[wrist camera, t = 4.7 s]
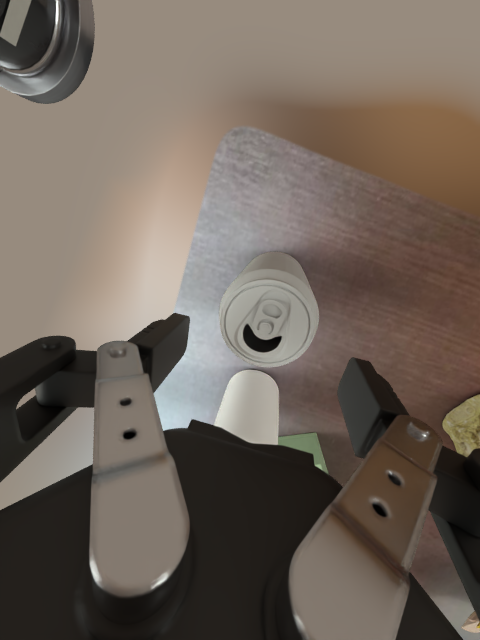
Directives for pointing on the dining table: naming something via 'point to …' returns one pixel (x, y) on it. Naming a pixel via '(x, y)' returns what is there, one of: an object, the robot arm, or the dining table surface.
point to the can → (251, 408)
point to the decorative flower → (472, 623)
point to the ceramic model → (464, 426)
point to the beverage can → (269, 311)
